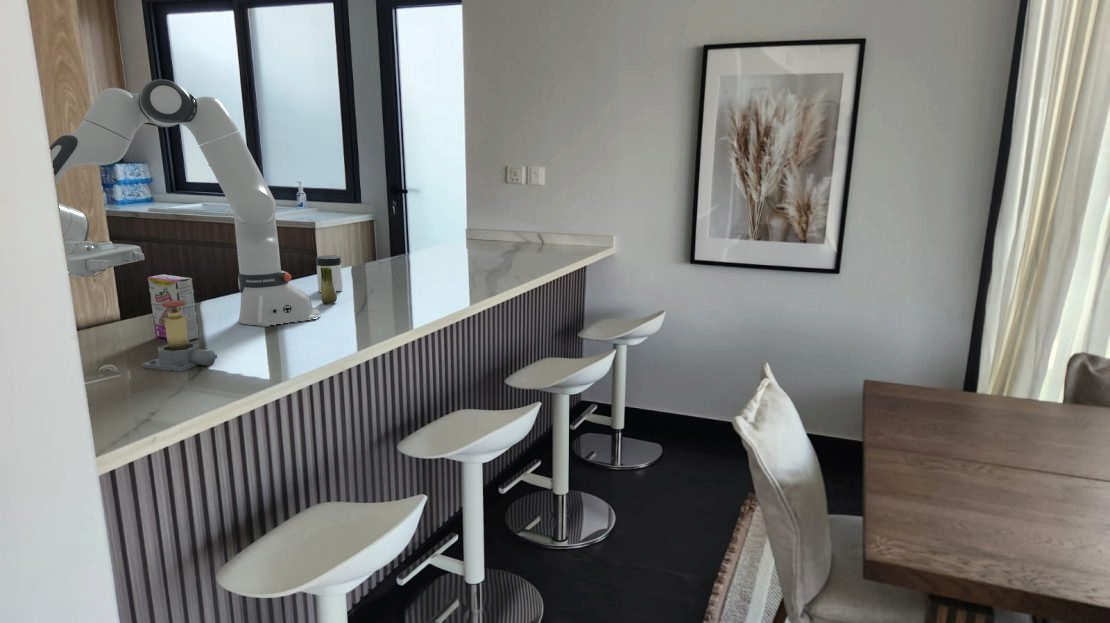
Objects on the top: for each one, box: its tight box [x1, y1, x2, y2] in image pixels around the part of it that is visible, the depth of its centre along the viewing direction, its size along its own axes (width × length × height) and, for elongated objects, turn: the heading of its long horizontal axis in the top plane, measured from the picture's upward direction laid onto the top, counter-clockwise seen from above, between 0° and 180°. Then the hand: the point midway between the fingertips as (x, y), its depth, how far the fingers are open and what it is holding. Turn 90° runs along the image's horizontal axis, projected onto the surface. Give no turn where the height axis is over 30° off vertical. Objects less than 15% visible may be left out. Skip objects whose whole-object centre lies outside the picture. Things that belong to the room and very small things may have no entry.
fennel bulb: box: [320, 267, 338, 304], centre depth 221 cm, size 6×5×12 cm
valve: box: [161, 300, 190, 351], centre depth 160 cm, size 5×5×14 cm
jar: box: [315, 254, 343, 292], centre depth 240 cm, size 9×8×12 cm
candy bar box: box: [147, 274, 200, 342], centre depth 180 cm, size 11×5×16 cm, turn 66°
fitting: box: [141, 341, 218, 373], centre depth 160 cm, size 14×11×4 cm
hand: (125, 260), depth 164 cm, fingers open, 8 cm apart
